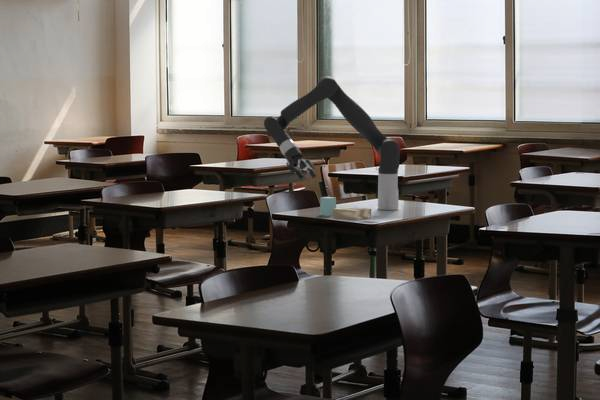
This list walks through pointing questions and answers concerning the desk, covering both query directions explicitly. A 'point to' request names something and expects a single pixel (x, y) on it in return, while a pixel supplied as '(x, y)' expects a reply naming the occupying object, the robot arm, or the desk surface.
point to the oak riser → (352, 213)
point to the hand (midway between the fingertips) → (308, 177)
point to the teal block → (327, 205)
